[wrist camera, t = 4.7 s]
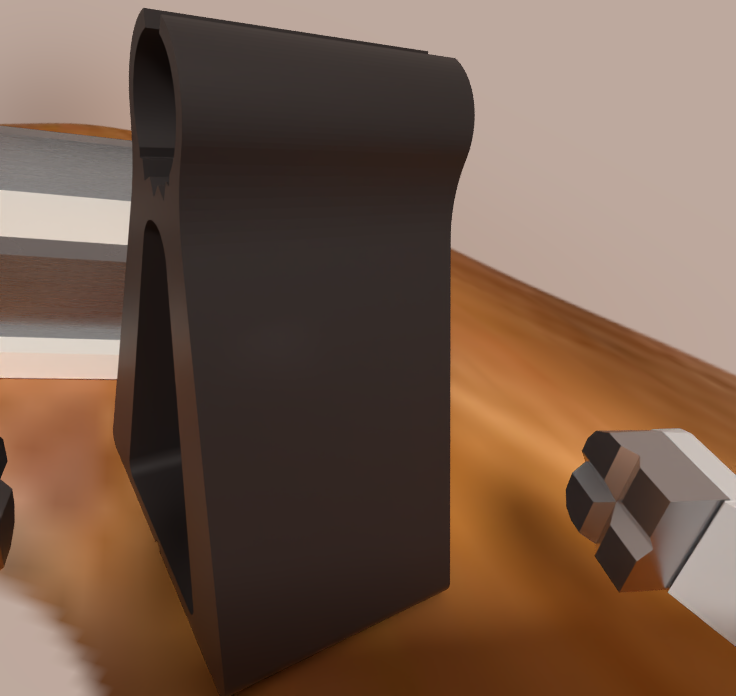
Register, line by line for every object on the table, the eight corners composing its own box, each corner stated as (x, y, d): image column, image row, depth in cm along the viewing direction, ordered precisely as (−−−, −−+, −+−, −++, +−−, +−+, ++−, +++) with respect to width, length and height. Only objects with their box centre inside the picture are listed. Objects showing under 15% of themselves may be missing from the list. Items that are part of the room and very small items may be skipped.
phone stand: (113, 440, 18) (87, -13, 12) (290, 402, 21) (336, 28, 16) (220, 707, 12) (270, 55, 6) (446, 597, 15) (619, 99, 9)
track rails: (-286, 328, 18) (-326, 234, 17) (-70, 174, 32) (-81, 116, 31) (402, 348, 24) (417, 280, 23) (330, 211, 38) (337, 164, 37)
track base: (-297, 374, 18) (-310, 345, 17) (-60, 187, 33) (-63, 169, 33) (404, 382, 24) (409, 361, 23) (325, 221, 40) (328, 206, 39)
